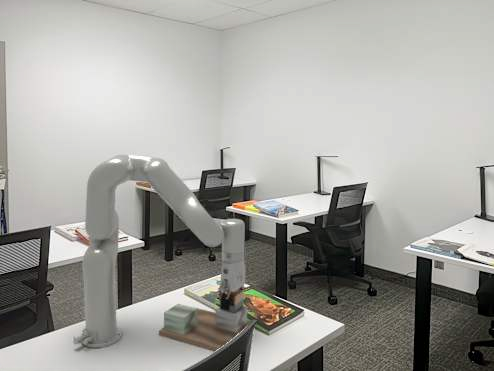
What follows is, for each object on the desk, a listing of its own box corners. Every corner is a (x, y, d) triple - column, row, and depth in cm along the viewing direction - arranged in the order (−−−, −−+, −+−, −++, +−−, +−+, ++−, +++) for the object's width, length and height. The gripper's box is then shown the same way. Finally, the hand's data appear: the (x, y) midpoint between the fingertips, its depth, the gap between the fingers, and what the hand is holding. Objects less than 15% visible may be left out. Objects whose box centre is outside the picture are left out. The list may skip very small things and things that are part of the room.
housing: (235, 313, 141) (235, 293, 140) (219, 309, 144) (220, 289, 143) (243, 306, 147) (244, 287, 146) (228, 303, 149) (228, 284, 148)
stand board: (221, 353, 130) (222, 330, 129) (158, 334, 141) (158, 313, 140) (251, 325, 149) (251, 305, 148) (193, 311, 160) (193, 292, 159)
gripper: (230, 264, 134) (229, 316, 136) (253, 250, 149) (252, 297, 151) (210, 261, 137) (209, 311, 139) (235, 247, 152) (234, 293, 155)
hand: (232, 304), depth 145 cm, fingers open, 9 cm apart
